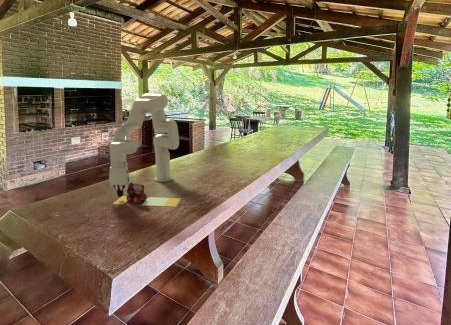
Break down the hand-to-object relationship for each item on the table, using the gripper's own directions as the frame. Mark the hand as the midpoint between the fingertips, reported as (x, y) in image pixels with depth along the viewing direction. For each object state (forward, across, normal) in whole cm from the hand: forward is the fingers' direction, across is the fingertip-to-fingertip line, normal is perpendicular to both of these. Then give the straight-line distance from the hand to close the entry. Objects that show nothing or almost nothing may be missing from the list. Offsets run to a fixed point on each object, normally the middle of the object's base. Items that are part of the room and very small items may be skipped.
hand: (120, 196), depth 163 cm
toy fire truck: (+3, -9, 0) cm, 9 cm away
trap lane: (+2, -16, 0) cm, 16 cm away
